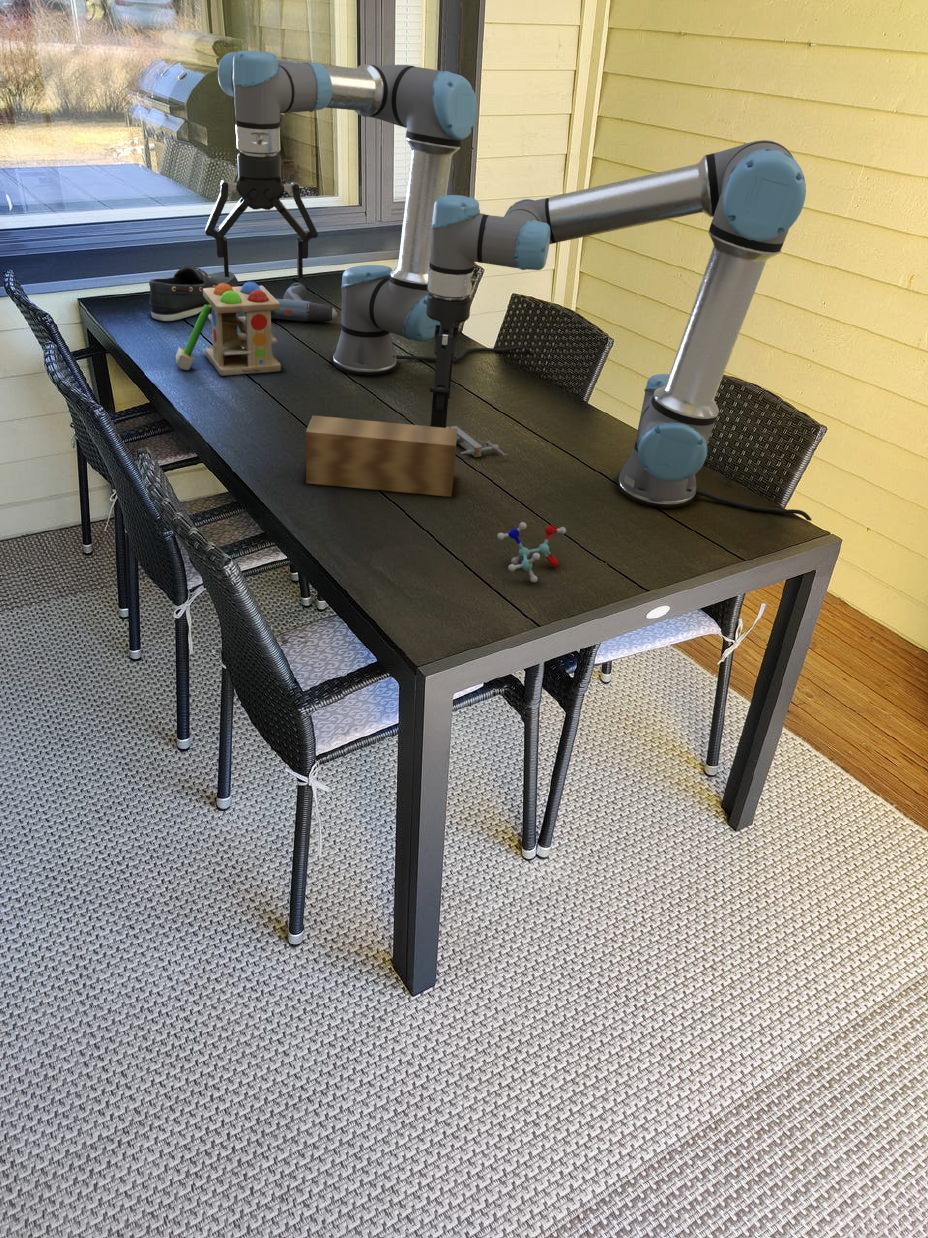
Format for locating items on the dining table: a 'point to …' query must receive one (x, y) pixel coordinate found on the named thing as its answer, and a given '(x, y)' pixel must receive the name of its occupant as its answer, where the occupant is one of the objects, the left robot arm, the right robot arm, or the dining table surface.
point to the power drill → (301, 307)
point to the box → (380, 455)
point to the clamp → (474, 444)
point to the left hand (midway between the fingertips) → (263, 275)
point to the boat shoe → (184, 292)
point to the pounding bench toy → (229, 347)
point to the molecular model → (525, 552)
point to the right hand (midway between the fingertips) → (440, 411)
